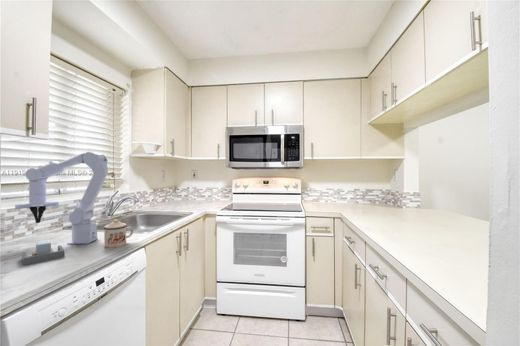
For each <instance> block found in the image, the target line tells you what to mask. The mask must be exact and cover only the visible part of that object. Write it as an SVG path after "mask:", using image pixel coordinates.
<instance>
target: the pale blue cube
mask: <svg viewBox="0 0 520 346" xmlns="http://www.w3.org/2000/svg"><path fill="white" fill-rule="evenodd" d="M35 247H36V248H35V251H36V254H37V255H40V254H45V253H50V252H51V248H52V242H51V241H50V240H46V241H41V242H36V243H35Z"/></svg>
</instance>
